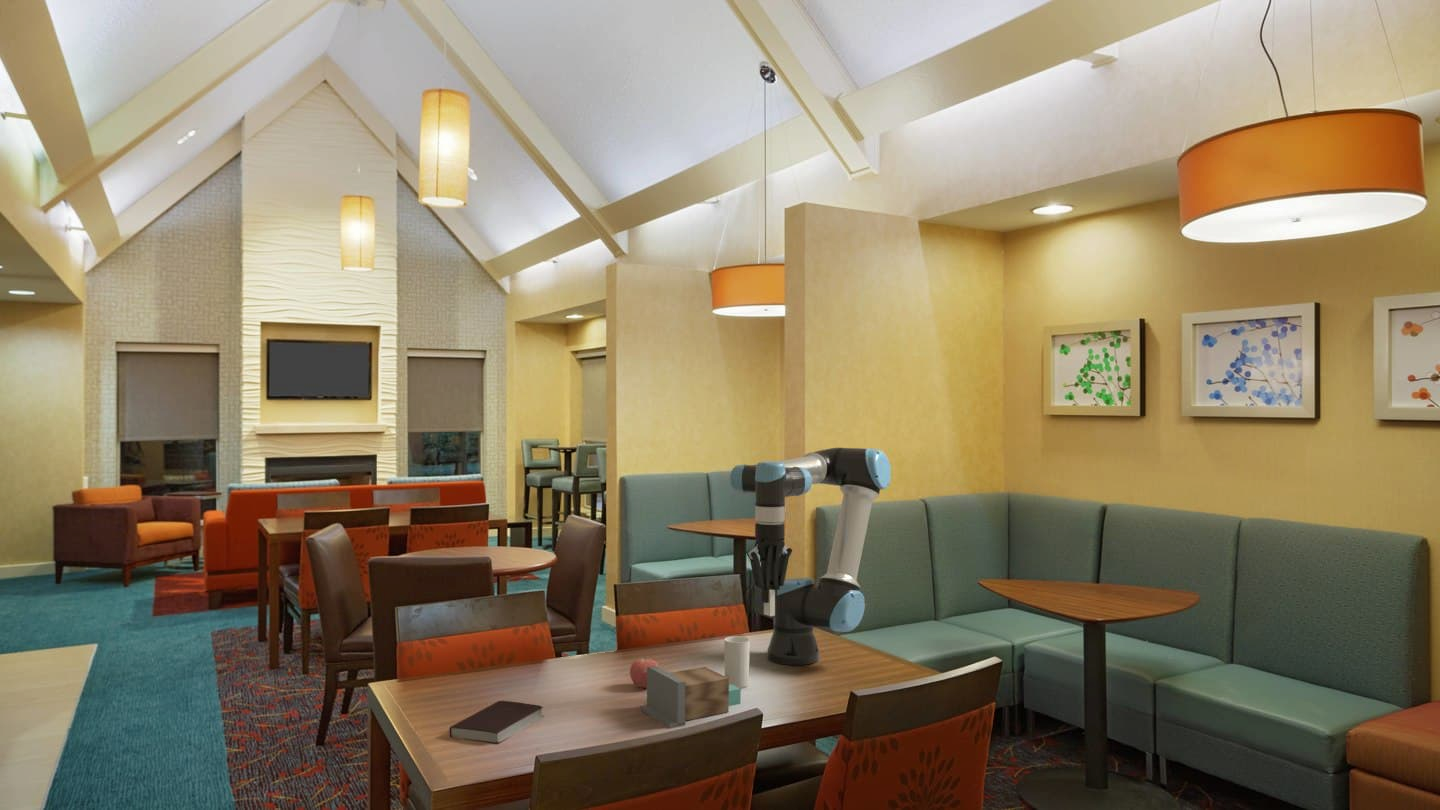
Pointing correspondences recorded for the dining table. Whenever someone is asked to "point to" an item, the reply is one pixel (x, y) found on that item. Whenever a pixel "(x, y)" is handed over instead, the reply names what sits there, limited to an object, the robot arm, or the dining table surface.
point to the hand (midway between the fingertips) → (769, 614)
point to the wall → (665, 697)
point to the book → (496, 722)
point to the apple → (641, 671)
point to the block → (704, 692)
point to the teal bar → (734, 695)
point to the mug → (737, 660)
